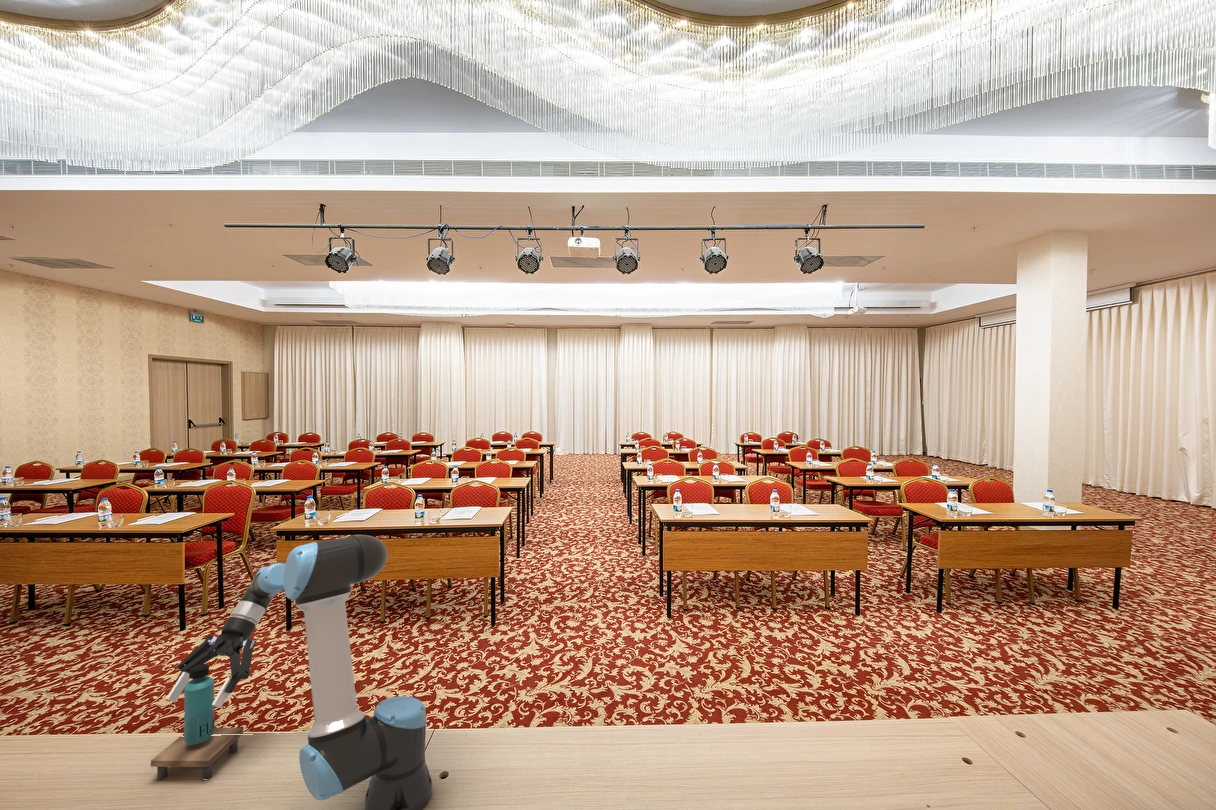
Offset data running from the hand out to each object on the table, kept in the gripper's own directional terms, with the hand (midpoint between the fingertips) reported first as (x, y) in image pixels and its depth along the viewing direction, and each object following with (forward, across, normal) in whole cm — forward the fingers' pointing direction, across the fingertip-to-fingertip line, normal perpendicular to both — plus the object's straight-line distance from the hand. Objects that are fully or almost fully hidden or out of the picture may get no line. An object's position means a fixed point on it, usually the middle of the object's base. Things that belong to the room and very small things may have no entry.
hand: (193, 703), depth 135 cm
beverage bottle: (+7, 0, -10) cm, 12 cm away
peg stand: (+11, 0, -13) cm, 17 cm away
